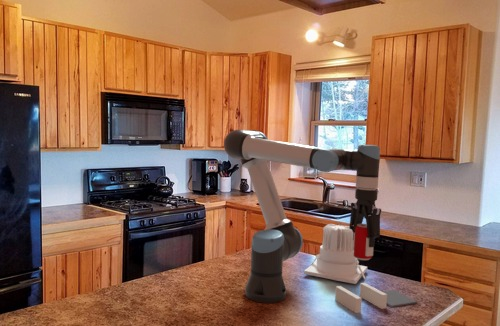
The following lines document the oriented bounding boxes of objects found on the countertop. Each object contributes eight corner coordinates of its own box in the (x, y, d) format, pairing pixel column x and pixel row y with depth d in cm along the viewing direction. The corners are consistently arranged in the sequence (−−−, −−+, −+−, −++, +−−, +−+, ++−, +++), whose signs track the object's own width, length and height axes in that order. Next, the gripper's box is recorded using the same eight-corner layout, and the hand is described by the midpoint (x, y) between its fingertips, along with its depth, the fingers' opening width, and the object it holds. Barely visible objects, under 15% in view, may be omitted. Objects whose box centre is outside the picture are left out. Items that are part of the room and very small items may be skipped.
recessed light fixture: (300, 275, 175) (302, 226, 174) (316, 263, 194) (318, 218, 193) (359, 287, 164) (362, 235, 162) (370, 273, 183) (373, 225, 182)
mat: (391, 307, 145) (391, 305, 145) (369, 294, 156) (369, 293, 156) (417, 303, 150) (417, 301, 150) (393, 291, 161) (393, 289, 161)
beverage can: (374, 258, 146) (376, 225, 146) (366, 262, 142) (368, 227, 141) (358, 254, 151) (360, 222, 150) (350, 257, 146) (352, 224, 145)
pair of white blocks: (356, 313, 139) (356, 298, 139) (335, 299, 150) (335, 286, 150) (386, 308, 144) (386, 294, 144) (363, 295, 155) (364, 282, 155)
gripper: (394, 192, 137) (390, 260, 139) (357, 185, 155) (354, 245, 156) (376, 192, 134) (372, 261, 136) (341, 185, 152) (337, 246, 153)
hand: (362, 252), depth 146 cm, fingers closed on beverage can, 6 cm apart
